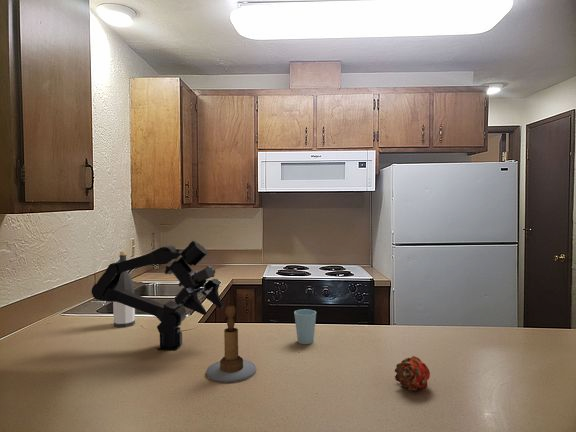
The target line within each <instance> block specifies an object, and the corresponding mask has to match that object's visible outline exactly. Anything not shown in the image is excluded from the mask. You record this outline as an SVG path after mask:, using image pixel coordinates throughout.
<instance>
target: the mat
mask: <svg viewBox="0 0 576 432" xmlns="http://www.w3.org/2000/svg"><path fill="white" fill-rule="evenodd" d="M256 373H257V366H256V364H255V363H254V362H252V361H250V360H246V359H243V368H242V369H241V370H240V371H237V372H231V373H227V372H223V371H221V370H220V360H219V361H215V362H214V363H211V364H210V365H209V366H208V367H207V368H206V376H207V378H208V379H210V380H211V381H213V382H217V383H221V384H222V383H225V384H226V383H227V384H228V383H229V384H231V383H239V382H242V381H243V382H244V381H247V380H249V379H250V378H252V377H254V376H255V374H256Z"/></svg>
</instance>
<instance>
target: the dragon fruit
mask: <svg viewBox="0 0 576 432" xmlns="http://www.w3.org/2000/svg"><path fill="white" fill-rule="evenodd" d="M394 373H396V374H395V375H394V379H395V381H396V382H399V383H400V385H401V386H403V387H405V388H406V390H408V391H411V392H416V391H417V390H418V389H420V390H422V389H423V390H426V389H427V387H428V380H429V379H430V378H431V376H430V375H431V371H430V369H429V367H428V366H427V364H426V363H424V362H423V361H422V359H420V358H419V357H417V356H415V355H413V356H411V357H406V358H404V359H403V360H402V361H400V363H397V364H396V366H395V368H394Z"/></svg>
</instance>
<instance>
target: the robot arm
mask: <svg viewBox="0 0 576 432" xmlns="http://www.w3.org/2000/svg"><path fill="white" fill-rule="evenodd" d="M208 255H209V252H208V250H207V249H206V248H205V247H204V246H203V245H201V244H200V243H199V242H196V241H195V240H192V241H190V243H188V245H187V246H186V247H185V249H178V248H176V247H175V246H173V245H171V244H169V245H165V246H160V247H159V248H157V249H155V250H152V251H151V252H149V253H147V254H144V255H140V256H137V257H133V258H130V259H126V260H125V261H122V262H120V261H116V262H112V263H110V264H108V266H107V268H106V270H105V271H104V273H103V274H102V275H101V276H100V278H99V279H98V281H97V282H96V284H94V285H93V286H92V288H91V295H92V297H93V298H94V299H95V300H97V301H102V302H108V303H110V302H111V303H113V302H119V303H121V304H124V305H127V306H129V307H132V308H135V310H137V311H140V312H143V313H146V314H148V315H151V316H154V317H156V319H157V320H159V324H157V326H156V328H157V331H158V333H159V347H157V350H164V351H165V350H166V351H167V350H168V351H171V350H172V351H177V350H178V349H179V348H180V347H181V346H182V345H183V332H182V331H181V330H182V329H181V327H180V326H181V325H182V322H183V321H184V320H186V318H187V315H188V314H187V310H186V308H187V309H189V310H192V311H194V312H196V313H199V315H200V314H201V315H202V316H206V315H207V314H208V312H207V310H206V309H205V306H203V304H202V303H201V302H200V300H199V297H198V295H199V294H201V295H203V296H204V298H205V299H206V300H208V301H209V302H211V303H213V304H214V306H216V307H218V308H219V309H222V308H223V302H222V300H221V296H220V293H219V288H220V285H221V282H220V280H219V279H218V278H214V277H215V274H216V269H215V268H214V267H213V266H212V265H207V266H206V267H204V269H201V270H200V271H198V270H193V268H192V266H198V265H199V264H200V263H201V262H202V261H203V260H204V259H205V258H206V257H207V256H208ZM177 259H178V260H177ZM169 263H171V264H170V265H168V264H169ZM166 264H167V265H166ZM151 265H152V266H156V265H157V266H158V265H166V266H165V271H164V274H165V275H172V274H173V276H174V277H175V278H176V280H178V281H179V283H178V286H179V287H182V288H181V290H180V291H179V292H178V293H177V294H175V295H176V296H174V301H173V300H171V299H170V300H169V301H167V302H166V303H161V302H158V301H156V300H153V299H150V298H148V297H145V296H142V295H140V294H137V293H135V292H134V293H132V292H129V291H126V290H124V289H123V288H122V287H121V286H120V285H119V284H118V283H119V281H120V277H121V274H122V272H125V271H131V270H135V269H139V268H142V267H147V266H151ZM211 278H212V279H211ZM208 279H209V280H208Z"/></svg>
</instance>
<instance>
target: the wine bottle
mask: <svg viewBox="0 0 576 432" xmlns="http://www.w3.org/2000/svg"><path fill="white" fill-rule="evenodd" d="M125 260H127V253H126V251H124V250H122V251H120V252H119V262H122V261H125ZM128 271H129V270H128ZM128 271H125V272H122V274H121V277H120V281H119V283H118V284H119V285H120V286H121V287H122V288H123V289H124V290H126V291H129V292H132V293H134V294H135V285H134V281H133V278H132V276H131V275H130V273H129V272H128ZM112 303H113V305H112V308H113V309H112V311H113V327H115V328H121V329H122V328H128V327H132V326H134V325H135V324H136V312H135V311H136V309H135V308H132V307H129V306H127V305H124V304H121V303H119V302H112Z"/></svg>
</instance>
